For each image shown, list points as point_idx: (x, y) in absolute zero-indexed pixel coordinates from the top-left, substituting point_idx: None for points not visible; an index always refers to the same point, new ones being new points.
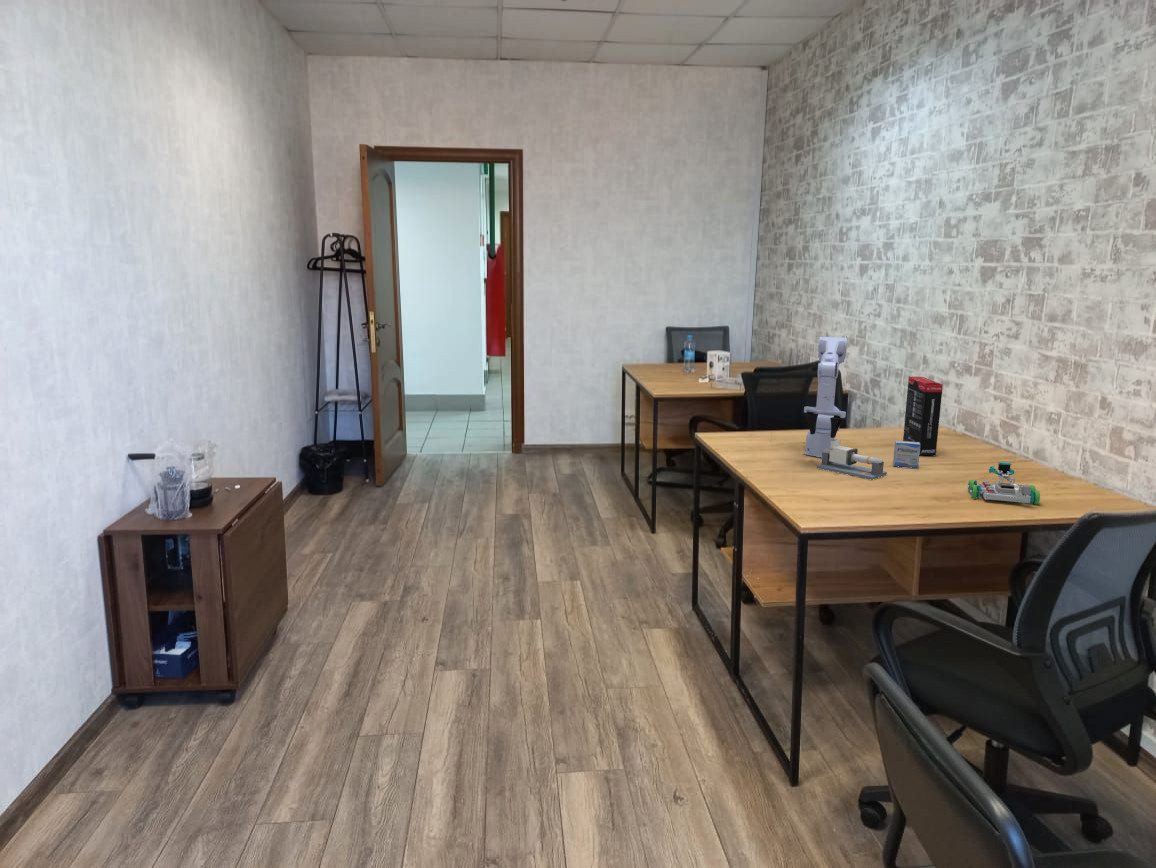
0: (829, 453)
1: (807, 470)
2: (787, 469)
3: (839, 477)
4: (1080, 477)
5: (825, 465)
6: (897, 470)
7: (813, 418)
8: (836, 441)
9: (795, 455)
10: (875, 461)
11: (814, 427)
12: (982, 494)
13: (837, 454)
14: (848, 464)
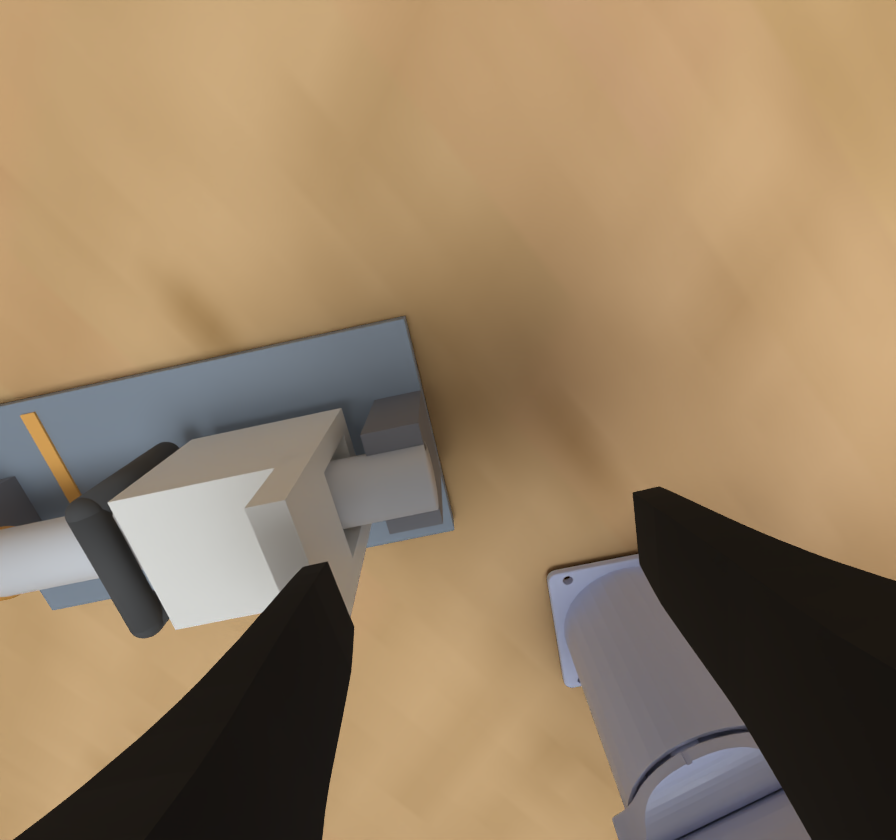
0: (359, 457)
1: (386, 180)
2: (503, 17)
3: (93, 248)
4: None
5: (367, 379)
6: (146, 710)
7: (876, 786)
8: (277, 570)
9: (754, 471)
10: None
11: (698, 624)
12: None
13: (239, 452)
14: (157, 444)
